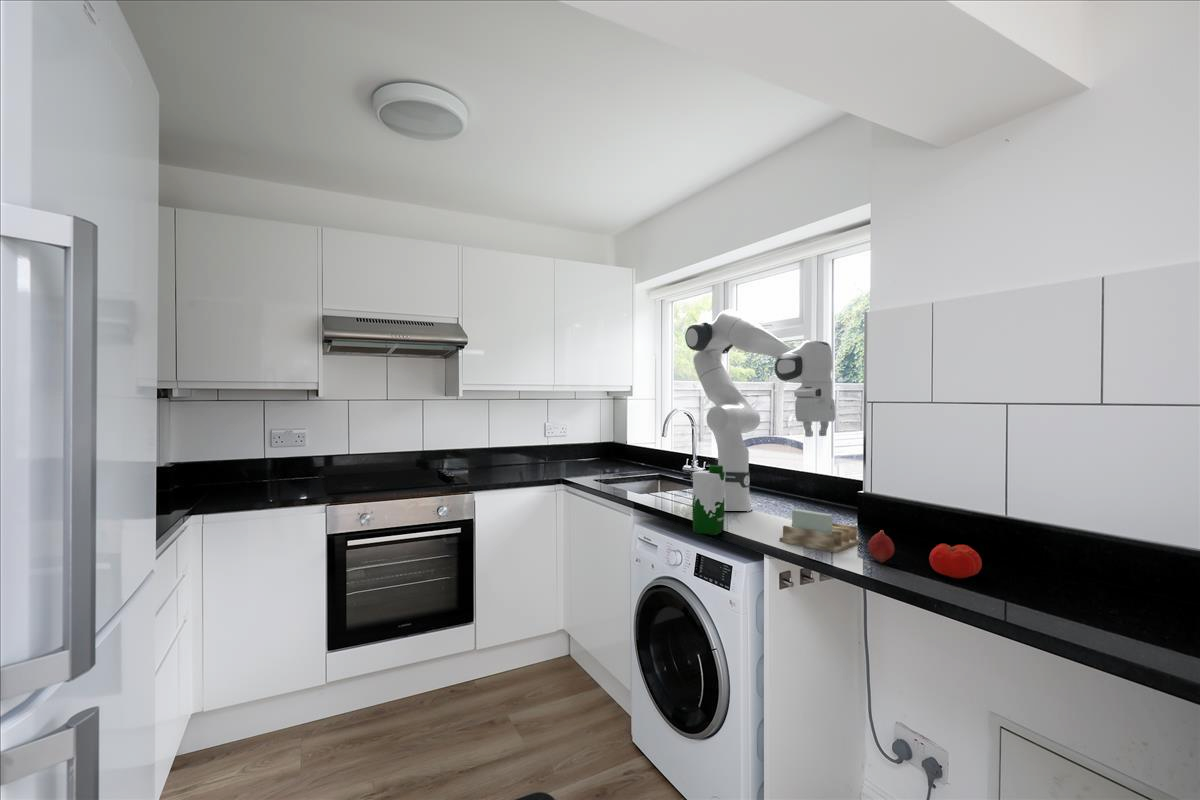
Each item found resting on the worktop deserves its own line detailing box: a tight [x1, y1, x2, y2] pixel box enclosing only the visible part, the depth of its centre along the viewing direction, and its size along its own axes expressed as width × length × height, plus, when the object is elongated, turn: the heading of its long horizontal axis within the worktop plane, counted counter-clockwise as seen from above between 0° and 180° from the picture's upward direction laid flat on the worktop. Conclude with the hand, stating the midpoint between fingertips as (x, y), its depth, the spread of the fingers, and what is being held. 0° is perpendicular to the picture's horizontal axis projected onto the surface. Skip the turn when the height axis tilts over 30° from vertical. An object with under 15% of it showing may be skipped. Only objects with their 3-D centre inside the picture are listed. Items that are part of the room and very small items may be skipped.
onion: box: [867, 529, 895, 564], centre depth 134 cm, size 6×6×8 cm
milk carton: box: [692, 464, 726, 536], centre depth 164 cm, size 9×9×20 cm
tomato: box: [928, 543, 983, 579], centre depth 125 cm, size 10×11×6 cm
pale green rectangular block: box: [791, 508, 833, 534], centre depth 149 cm, size 10×3×8 cm, turn 43°
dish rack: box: [778, 522, 861, 554], centre depth 153 cm, size 16×16×4 cm
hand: (816, 436), depth 169 cm, fingers open, 8 cm apart
